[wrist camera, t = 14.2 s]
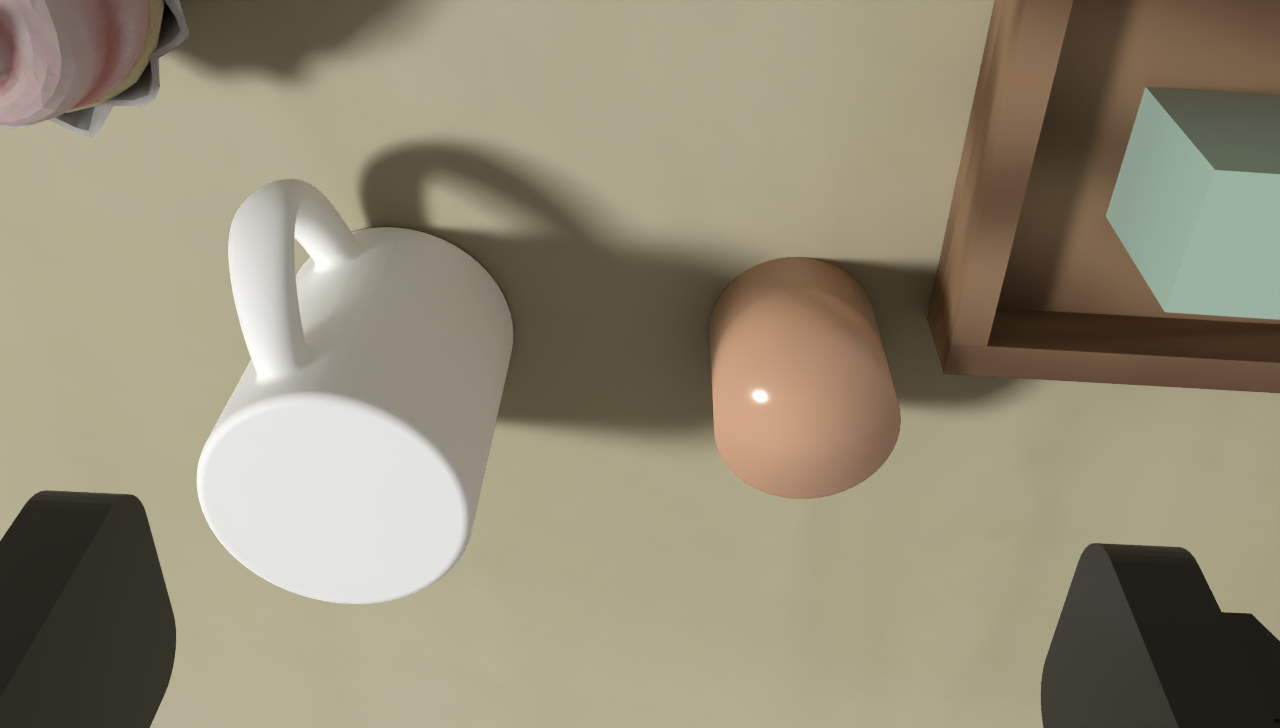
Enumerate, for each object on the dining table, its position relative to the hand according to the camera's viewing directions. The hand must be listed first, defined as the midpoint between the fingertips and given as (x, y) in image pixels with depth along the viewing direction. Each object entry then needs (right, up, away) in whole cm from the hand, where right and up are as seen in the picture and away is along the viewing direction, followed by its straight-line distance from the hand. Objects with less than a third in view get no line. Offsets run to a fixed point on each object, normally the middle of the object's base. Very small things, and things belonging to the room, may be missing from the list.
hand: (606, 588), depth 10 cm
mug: (-9, +5, +33) cm, 35 cm away
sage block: (+18, +9, +28) cm, 34 cm away
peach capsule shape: (+6, +3, +33) cm, 34 cm away
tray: (+18, +9, +29) cm, 35 cm away
